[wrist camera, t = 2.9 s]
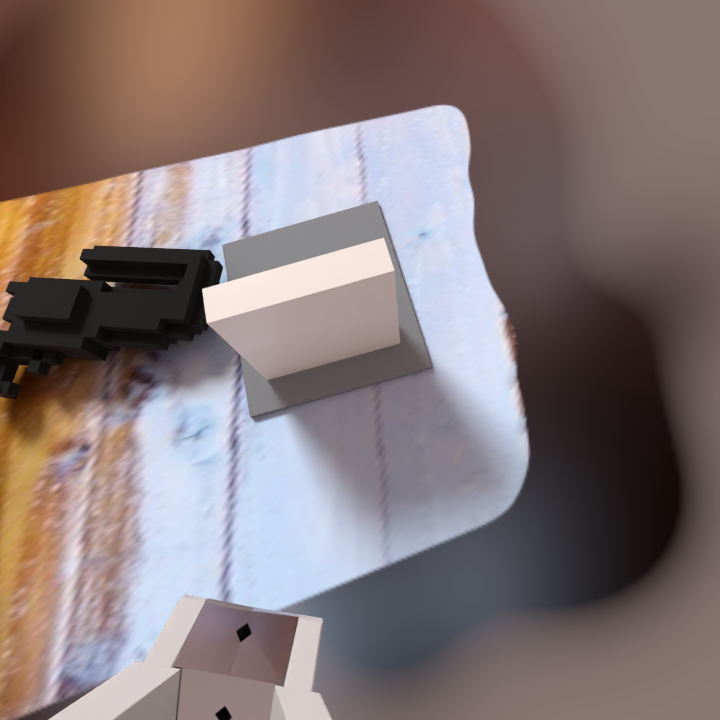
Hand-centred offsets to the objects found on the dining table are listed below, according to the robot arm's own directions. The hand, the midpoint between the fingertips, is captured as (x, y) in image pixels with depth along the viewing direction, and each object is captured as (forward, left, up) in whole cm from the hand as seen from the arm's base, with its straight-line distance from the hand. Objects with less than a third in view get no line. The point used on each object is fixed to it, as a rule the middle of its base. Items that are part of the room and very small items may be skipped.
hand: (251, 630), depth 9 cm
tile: (-8, +15, -25) cm, 30 cm away
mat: (-10, +19, -26) cm, 33 cm away
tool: (-28, +12, -26) cm, 40 cm away
